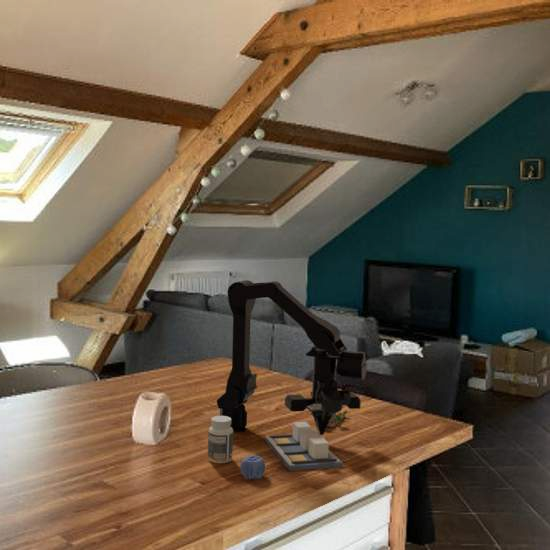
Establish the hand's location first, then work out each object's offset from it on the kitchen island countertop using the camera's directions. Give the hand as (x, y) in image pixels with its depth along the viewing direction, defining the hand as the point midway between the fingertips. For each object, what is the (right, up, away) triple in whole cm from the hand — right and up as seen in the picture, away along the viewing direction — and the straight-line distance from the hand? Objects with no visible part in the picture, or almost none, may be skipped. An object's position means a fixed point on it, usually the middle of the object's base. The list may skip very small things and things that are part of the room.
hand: (321, 434), depth 175 cm
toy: (+4, -1, +17) cm, 18 cm away
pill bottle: (-25, -3, -15) cm, 29 cm away
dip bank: (-5, -3, -8) cm, 10 cm away
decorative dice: (-17, -4, -23) cm, 29 cm away
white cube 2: (-3, -1, -7) cm, 8 cm away
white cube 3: (-5, -1, -2) cm, 5 cm away
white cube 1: (-2, -2, -13) cm, 13 cm away
